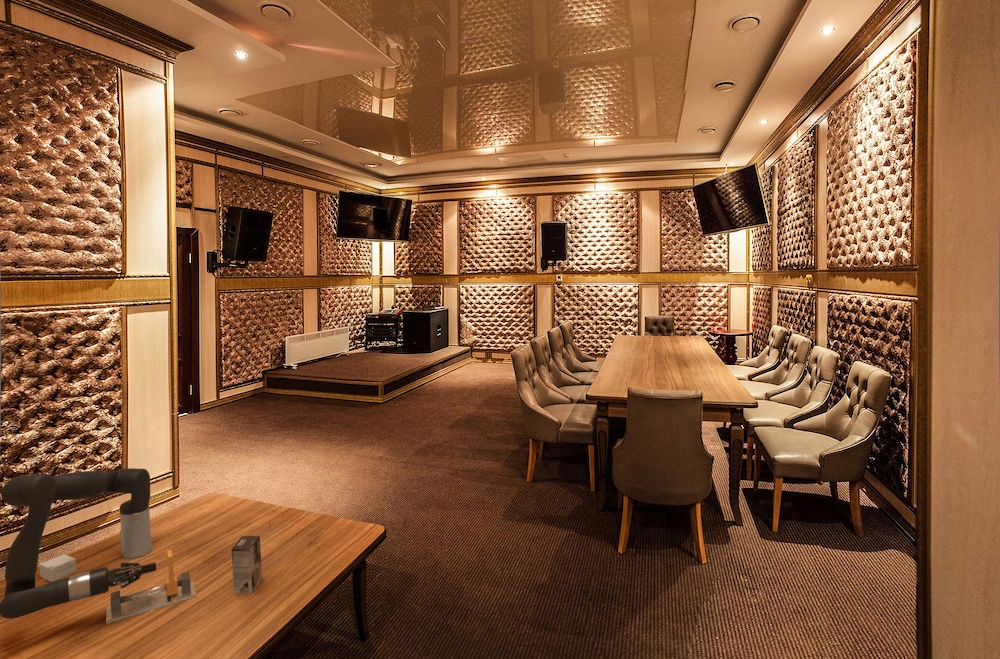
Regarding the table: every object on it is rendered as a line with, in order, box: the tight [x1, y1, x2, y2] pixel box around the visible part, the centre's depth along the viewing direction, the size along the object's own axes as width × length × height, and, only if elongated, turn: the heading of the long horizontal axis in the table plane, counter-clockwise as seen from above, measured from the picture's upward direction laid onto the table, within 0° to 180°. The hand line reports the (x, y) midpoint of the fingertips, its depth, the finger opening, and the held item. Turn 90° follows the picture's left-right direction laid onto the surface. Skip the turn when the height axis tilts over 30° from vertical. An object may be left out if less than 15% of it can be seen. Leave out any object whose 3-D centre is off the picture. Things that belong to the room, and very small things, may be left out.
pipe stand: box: [105, 570, 197, 625], centre depth 171 cm, size 24×9×6 cm, turn 125°
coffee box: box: [231, 535, 263, 595], centre depth 180 cm, size 9×6×16 cm
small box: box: [38, 553, 77, 583], centre depth 188 cm, size 8×8×5 cm
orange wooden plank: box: [165, 549, 178, 596], centre depth 174 cm, size 3×5×13 cm, turn 35°
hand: (156, 566), depth 171 cm, fingers closed
